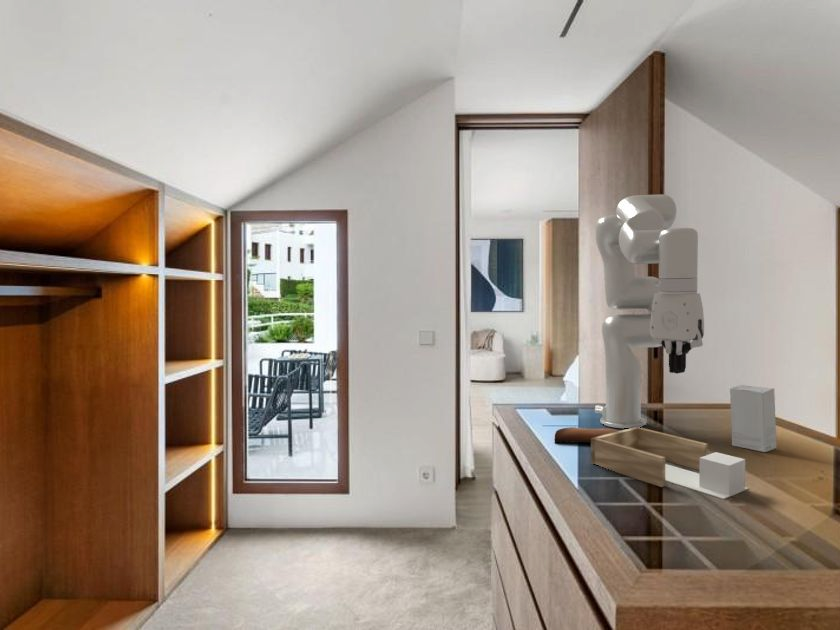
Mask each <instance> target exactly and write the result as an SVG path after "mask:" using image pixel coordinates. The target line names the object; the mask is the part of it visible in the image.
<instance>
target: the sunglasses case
mask: <svg viewBox="0 0 840 630" xmlns="http://www.w3.org/2000/svg"><path fill="white" fill-rule="evenodd" d="M617 431H619V430H617V429H612V428H582V427H581V428H580V427H575V426H573V427H572V426H571V427H563V428H559V429H557V430H556V431H555V433H554V441H555V442H556V443H557V442H561V443H562V442H564V443H589V444H591V438H594V437H598V436H602V435H606V434H610V433H614V432H617Z"/></svg>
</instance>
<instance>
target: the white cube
mask: <svg viewBox="0 0 840 630" xmlns="http://www.w3.org/2000/svg"><path fill="white" fill-rule="evenodd" d="M698 471H699V472H698V473H699V487H702V488H705V489H709V490H712V491H715V492H719V493H722V494H725V495H728V496H729V495H731V494H734V493H736V492H738V491H741V490H743V489H745V487H746V458H741V457H738V456H733V455H728V454H725V453H721V452H717V451H715V452H712V453H710V454H709V453H708V455H706V456H703V457H700V464H699V470H698Z"/></svg>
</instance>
